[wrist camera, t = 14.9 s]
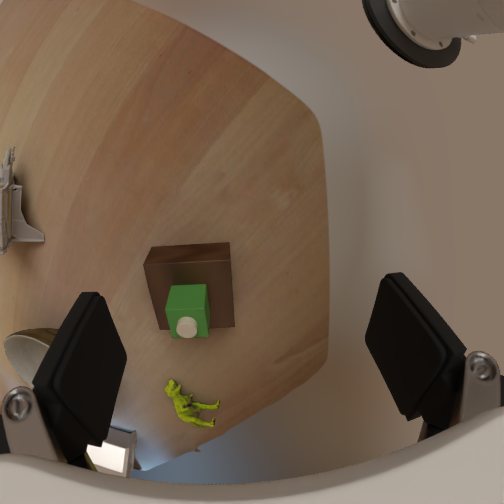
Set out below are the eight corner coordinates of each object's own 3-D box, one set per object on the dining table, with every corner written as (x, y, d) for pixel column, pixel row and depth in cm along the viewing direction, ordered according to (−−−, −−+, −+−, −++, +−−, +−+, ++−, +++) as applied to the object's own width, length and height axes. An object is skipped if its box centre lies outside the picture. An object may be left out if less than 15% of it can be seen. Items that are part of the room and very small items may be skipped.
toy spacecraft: (45, 233, 38) (-26, 230, 28) (55, 144, 32) (-24, 140, 22) (42, 258, 33) (-38, 256, 23) (50, 156, 27) (-42, 153, 17)
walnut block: (229, 242, 39) (230, 259, 34) (233, 305, 44) (234, 327, 39) (151, 246, 38) (142, 264, 33) (164, 308, 43) (159, 329, 38)
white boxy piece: (138, 422, 67) (126, 458, 48) (135, 458, 65) (125, 494, 47) (64, 396, 63) (39, 423, 44) (66, 434, 61) (45, 463, 43)
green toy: (206, 283, 35) (203, 314, 30) (209, 311, 38) (208, 344, 32) (171, 285, 35) (163, 316, 30) (176, 312, 37) (171, 345, 32)
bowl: (28, 357, 47) (13, 387, 38) (18, 284, 38) (-8, 316, 29) (112, 395, 54) (104, 429, 45) (125, 332, 45) (110, 375, 36)
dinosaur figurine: (238, 414, 59) (240, 436, 54) (202, 423, 61) (202, 443, 55) (192, 372, 50) (190, 397, 45) (152, 383, 52) (148, 407, 46)
